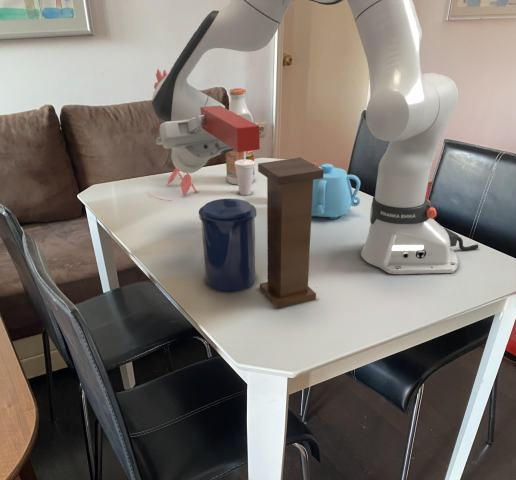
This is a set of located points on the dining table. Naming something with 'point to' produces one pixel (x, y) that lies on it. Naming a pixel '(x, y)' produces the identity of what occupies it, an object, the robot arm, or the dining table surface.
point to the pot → (229, 244)
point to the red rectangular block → (231, 128)
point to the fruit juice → (236, 107)
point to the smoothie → (245, 175)
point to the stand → (289, 230)
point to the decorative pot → (333, 193)
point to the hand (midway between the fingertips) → (215, 117)
